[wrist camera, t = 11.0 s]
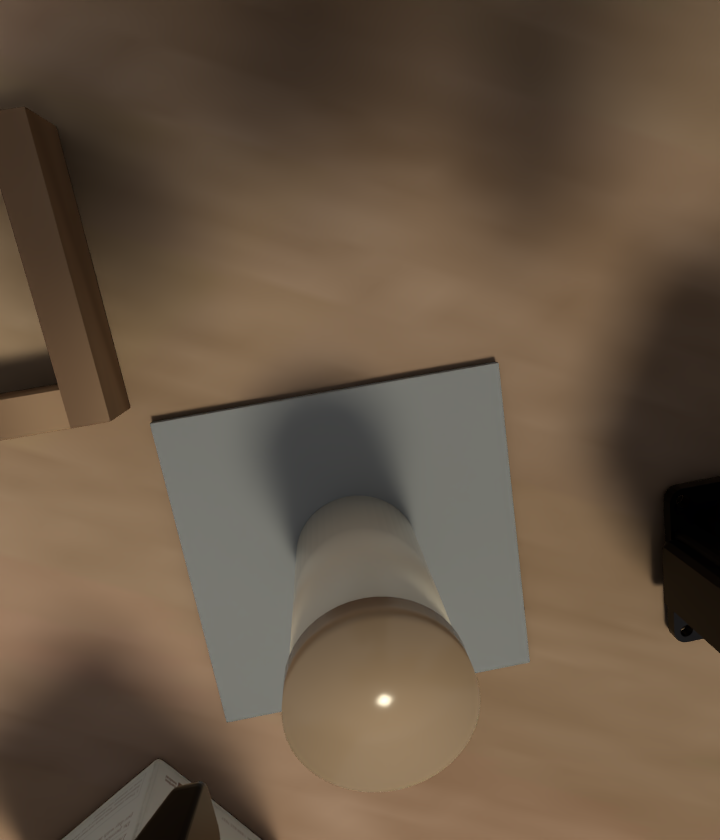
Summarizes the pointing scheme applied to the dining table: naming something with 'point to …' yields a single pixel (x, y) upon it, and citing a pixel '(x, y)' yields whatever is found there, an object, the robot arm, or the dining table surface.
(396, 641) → the jar
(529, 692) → the dining table surface
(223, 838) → the supplement box
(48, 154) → the pocket frame
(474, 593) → the mat
